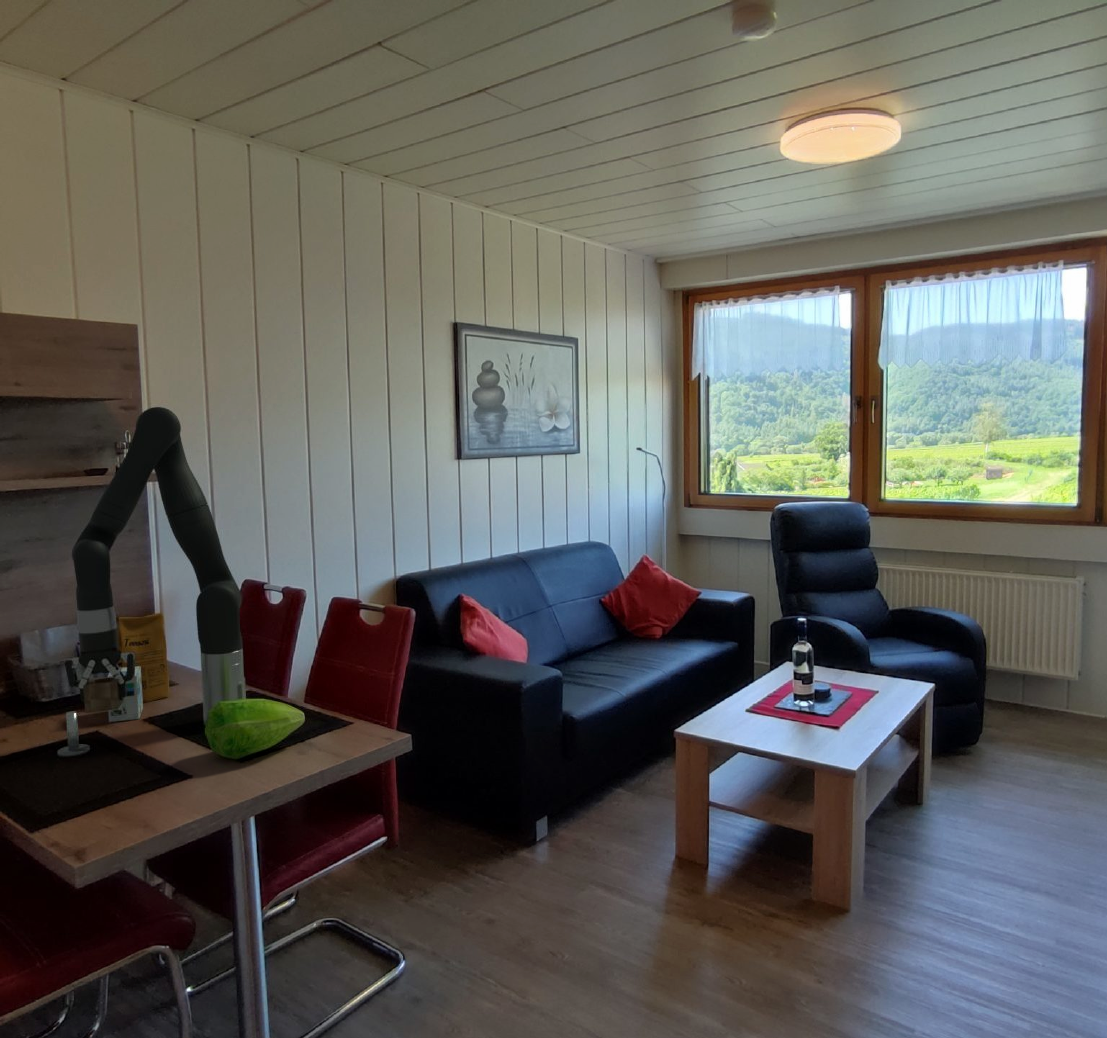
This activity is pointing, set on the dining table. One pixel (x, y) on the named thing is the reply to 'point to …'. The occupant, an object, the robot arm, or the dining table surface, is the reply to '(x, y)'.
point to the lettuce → (249, 725)
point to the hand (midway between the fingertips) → (104, 701)
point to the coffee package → (146, 652)
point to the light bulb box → (129, 699)
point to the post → (73, 738)
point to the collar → (101, 694)
